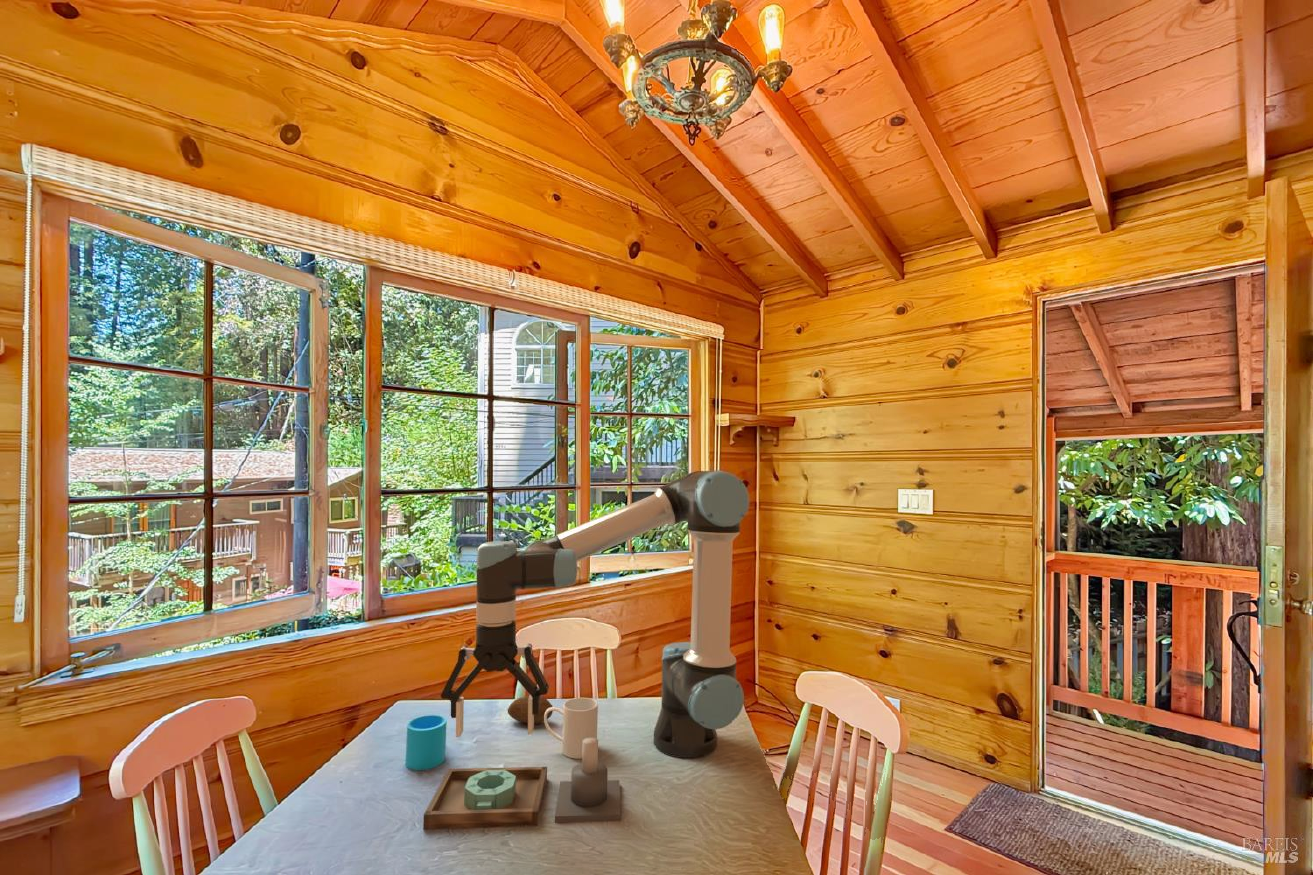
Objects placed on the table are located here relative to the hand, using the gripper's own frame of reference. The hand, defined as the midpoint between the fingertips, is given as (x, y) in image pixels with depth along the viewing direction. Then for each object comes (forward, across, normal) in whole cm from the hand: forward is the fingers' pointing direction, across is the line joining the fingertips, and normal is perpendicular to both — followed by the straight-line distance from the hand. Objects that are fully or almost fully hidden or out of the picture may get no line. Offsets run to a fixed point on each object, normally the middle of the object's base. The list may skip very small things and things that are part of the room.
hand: (495, 732), depth 112 cm
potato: (+14, -2, -36) cm, 38 cm away
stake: (+13, -18, +1) cm, 23 cm away
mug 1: (+13, +18, -19) cm, 29 cm away
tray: (+13, +1, 0) cm, 13 cm away
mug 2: (+14, -13, -20) cm, 27 cm away
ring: (+12, +1, 0) cm, 12 cm away
